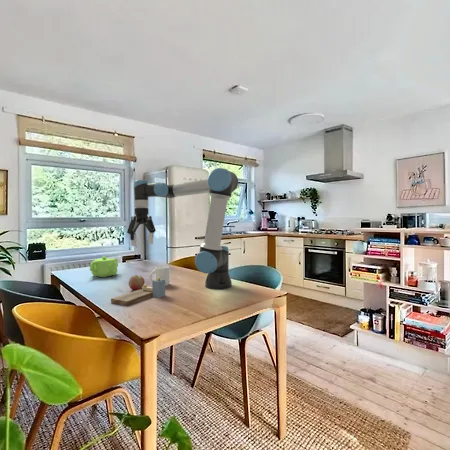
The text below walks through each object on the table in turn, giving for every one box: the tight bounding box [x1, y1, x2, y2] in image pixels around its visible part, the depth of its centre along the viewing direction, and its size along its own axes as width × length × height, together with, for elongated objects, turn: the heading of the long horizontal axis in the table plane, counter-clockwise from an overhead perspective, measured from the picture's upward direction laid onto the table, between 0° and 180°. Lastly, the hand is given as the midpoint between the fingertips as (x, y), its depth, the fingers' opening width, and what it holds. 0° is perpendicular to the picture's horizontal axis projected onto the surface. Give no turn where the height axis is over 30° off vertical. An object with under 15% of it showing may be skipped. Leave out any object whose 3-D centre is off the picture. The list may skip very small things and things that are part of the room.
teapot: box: [89, 256, 119, 278], centre depth 195 cm, size 18×20×13 cm
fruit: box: [128, 274, 146, 291], centre depth 158 cm, size 8×8×8 cm
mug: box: [148, 265, 171, 287], centre depth 169 cm, size 12×8×10 cm
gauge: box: [142, 278, 166, 298], centre depth 148 cm, size 12×5×9 cm, turn 63°
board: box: [110, 289, 153, 307], centre depth 143 cm, size 10×22×2 cm, turn 153°
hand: (142, 244), depth 166 cm, fingers open, 13 cm apart
